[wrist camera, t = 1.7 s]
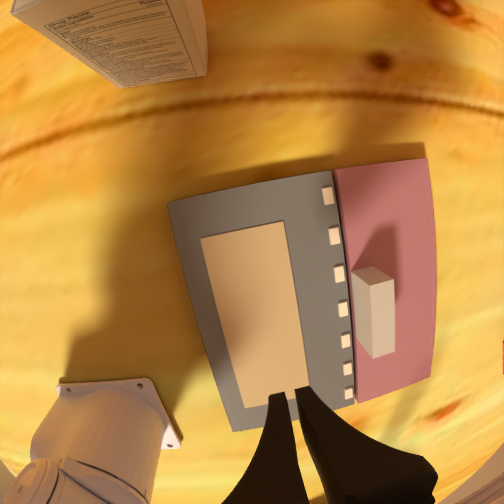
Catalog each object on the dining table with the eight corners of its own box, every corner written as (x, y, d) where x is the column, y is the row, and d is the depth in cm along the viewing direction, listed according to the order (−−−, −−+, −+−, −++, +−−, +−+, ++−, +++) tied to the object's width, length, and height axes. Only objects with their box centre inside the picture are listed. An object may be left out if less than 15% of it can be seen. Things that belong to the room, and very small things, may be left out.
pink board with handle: (353, 395, 23) (371, 426, 19) (330, 170, 19) (354, 167, 15) (423, 369, 23) (447, 394, 19) (417, 158, 19) (453, 156, 15)
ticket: (232, 422, 23) (232, 433, 22) (170, 201, 19) (165, 203, 18) (349, 395, 23) (355, 405, 22) (325, 171, 19) (332, 170, 18)
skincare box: (207, 24, 17) (192, -106, 5) (208, 78, 18) (185, -42, 6) (116, 37, 16) (34, -60, 4) (112, 91, 17) (4, 15, 5)
